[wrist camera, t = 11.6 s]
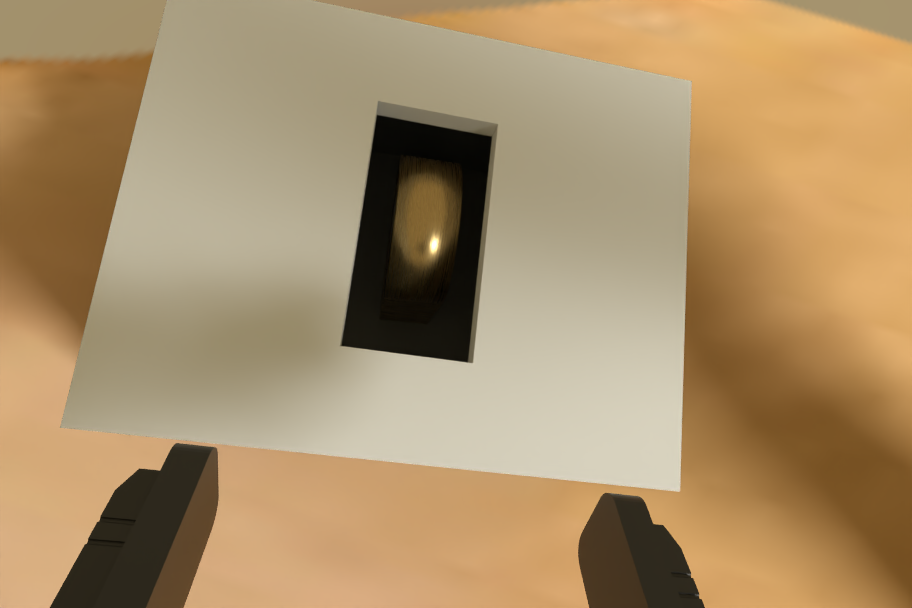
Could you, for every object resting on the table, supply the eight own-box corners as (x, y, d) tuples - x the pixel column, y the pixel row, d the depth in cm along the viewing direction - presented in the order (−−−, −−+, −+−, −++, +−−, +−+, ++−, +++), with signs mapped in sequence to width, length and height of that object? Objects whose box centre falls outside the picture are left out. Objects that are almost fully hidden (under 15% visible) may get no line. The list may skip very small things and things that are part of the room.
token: (437, 212, 30) (467, 137, 22) (426, 324, 29) (454, 288, 21) (392, 206, 30) (405, 127, 22) (379, 318, 29) (388, 280, 21)
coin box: (593, 179, 33) (691, 81, 23) (574, 466, 30) (680, 491, 20) (232, 113, 30) (173, -30, 20) (166, 423, 27) (59, 427, 17)
